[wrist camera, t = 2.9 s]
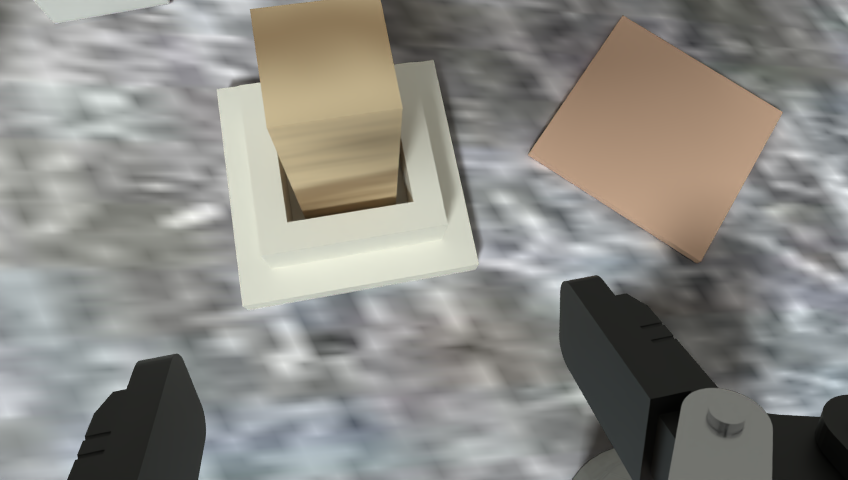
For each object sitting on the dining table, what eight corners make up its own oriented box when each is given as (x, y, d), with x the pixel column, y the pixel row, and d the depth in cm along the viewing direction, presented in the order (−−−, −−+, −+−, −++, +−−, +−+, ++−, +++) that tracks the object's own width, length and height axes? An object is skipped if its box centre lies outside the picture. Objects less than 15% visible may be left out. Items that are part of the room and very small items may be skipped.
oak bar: (395, 208, 34) (402, 108, 22) (307, 222, 33) (266, 127, 21) (380, 128, 35) (379, -7, 23) (294, 141, 34) (250, 9, 23)
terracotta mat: (696, 263, 35) (700, 261, 35) (528, 155, 37) (529, 151, 36) (777, 115, 39) (782, 112, 38) (619, 19, 40) (622, 15, 39)
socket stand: (474, 269, 34) (488, 251, 30) (248, 310, 33) (228, 296, 29) (431, 72, 38) (438, 30, 33) (223, 101, 36) (201, 61, 32)
